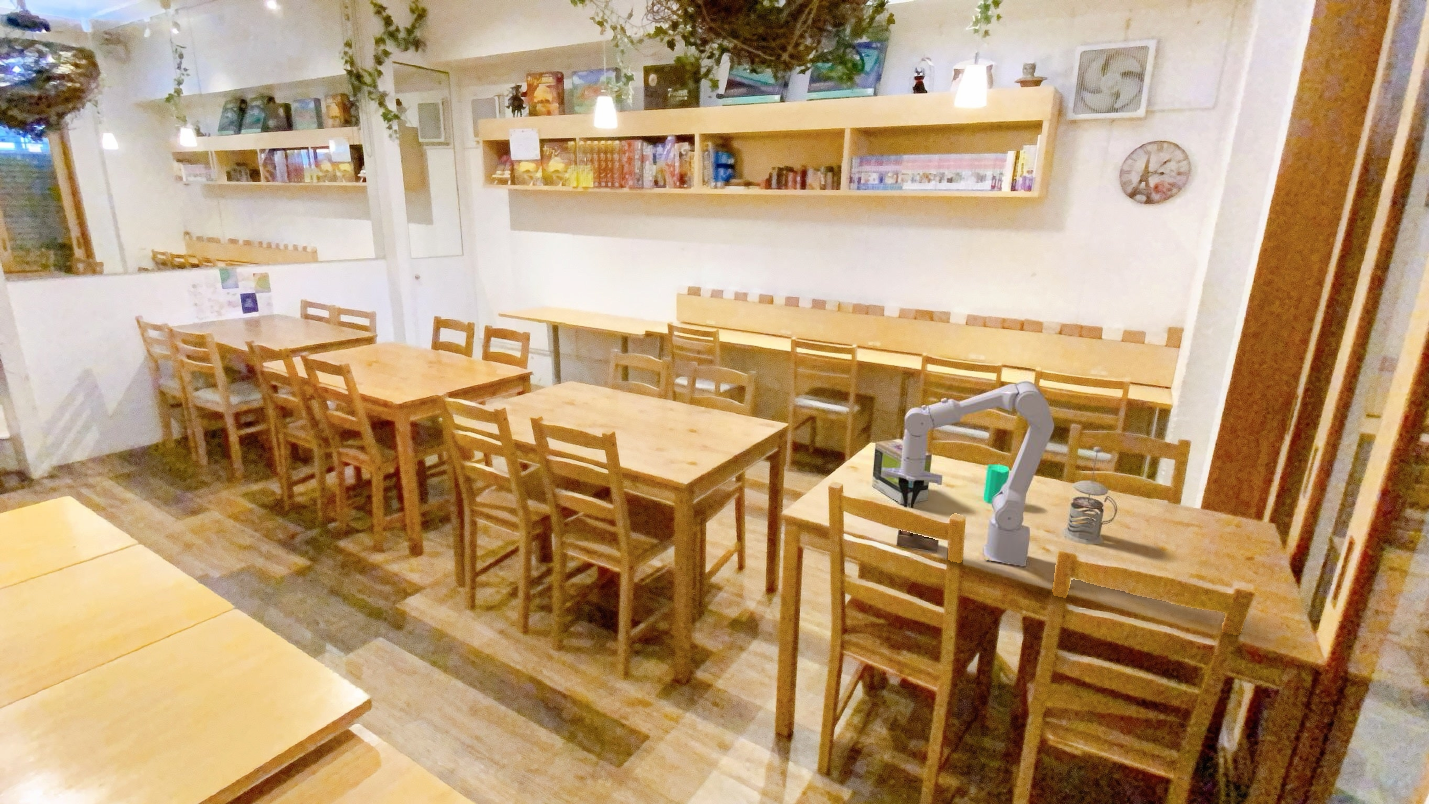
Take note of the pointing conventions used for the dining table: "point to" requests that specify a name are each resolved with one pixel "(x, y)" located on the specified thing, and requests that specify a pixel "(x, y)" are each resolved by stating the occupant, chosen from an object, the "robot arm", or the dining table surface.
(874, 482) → the tea box
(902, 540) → the plug block
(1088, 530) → the french press
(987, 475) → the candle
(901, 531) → the terracotta plug
